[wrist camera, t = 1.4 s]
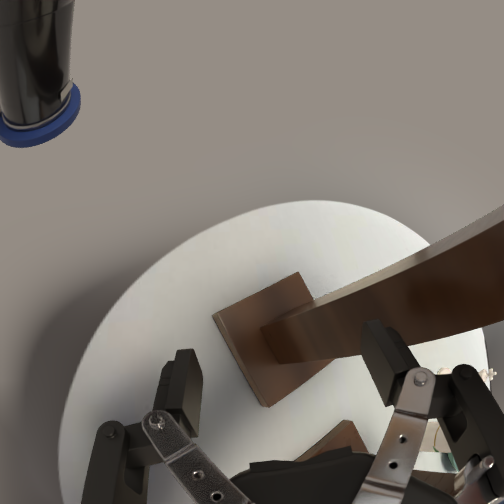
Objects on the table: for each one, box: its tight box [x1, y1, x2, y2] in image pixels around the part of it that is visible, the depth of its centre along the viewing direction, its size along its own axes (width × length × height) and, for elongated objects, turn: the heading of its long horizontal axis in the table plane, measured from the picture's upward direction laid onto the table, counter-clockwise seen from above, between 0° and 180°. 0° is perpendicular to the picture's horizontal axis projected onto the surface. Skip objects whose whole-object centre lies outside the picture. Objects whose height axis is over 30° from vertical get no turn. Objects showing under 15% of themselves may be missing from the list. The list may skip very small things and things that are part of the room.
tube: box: [419, 422, 451, 453], centre depth 24 cm, size 4×4×15 cm
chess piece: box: [437, 368, 496, 382], centre depth 32 cm, size 5×5×10 cm
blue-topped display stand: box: [295, 420, 504, 504], centre depth 15 cm, size 12×10×22 cm
